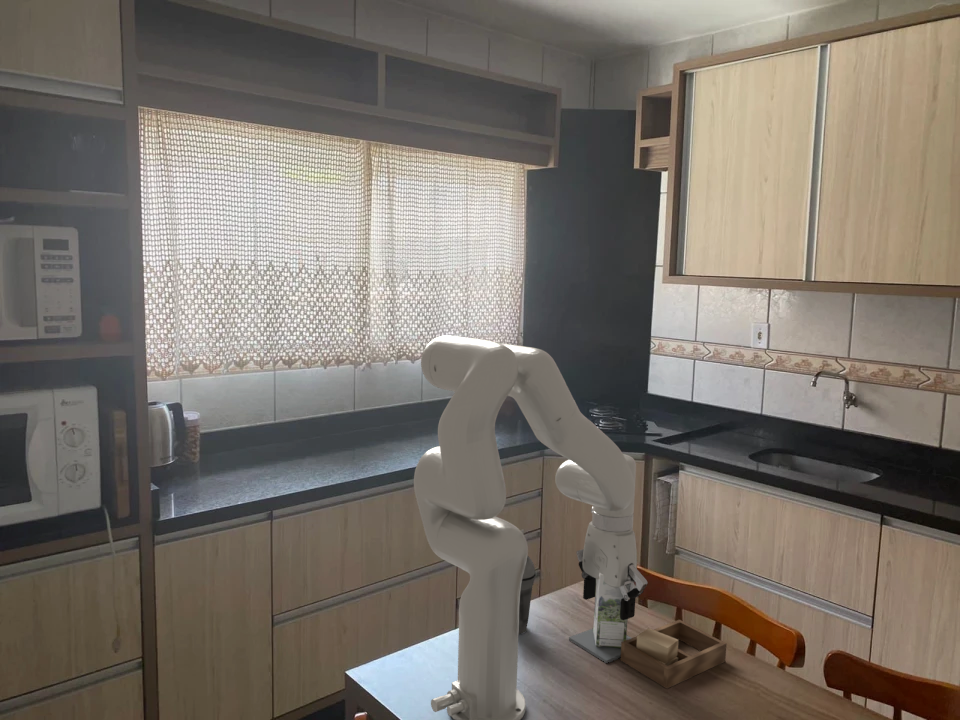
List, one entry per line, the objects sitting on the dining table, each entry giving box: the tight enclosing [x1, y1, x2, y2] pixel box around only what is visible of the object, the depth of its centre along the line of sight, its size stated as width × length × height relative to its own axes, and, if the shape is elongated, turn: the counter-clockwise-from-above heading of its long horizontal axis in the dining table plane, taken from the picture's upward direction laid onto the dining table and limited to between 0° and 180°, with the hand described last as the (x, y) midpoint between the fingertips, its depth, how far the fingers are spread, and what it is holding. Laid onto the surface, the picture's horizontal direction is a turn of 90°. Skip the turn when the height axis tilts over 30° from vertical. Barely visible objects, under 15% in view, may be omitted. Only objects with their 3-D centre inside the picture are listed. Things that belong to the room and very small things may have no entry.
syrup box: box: [592, 572, 630, 648], centre depth 140 cm, size 6×6×14 cm
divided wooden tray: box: [619, 619, 727, 689], centre depth 135 cm, size 16×11×4 cm
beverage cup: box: [518, 529, 536, 635], centre depth 144 cm, size 7×7×20 cm
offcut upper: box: [636, 627, 679, 664], centre depth 132 cm, size 4×6×3 cm, turn 48°
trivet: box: [568, 628, 632, 664], centre depth 141 cm, size 10×10×1 cm
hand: (608, 607), depth 140 cm, fingers open, 9 cm apart
